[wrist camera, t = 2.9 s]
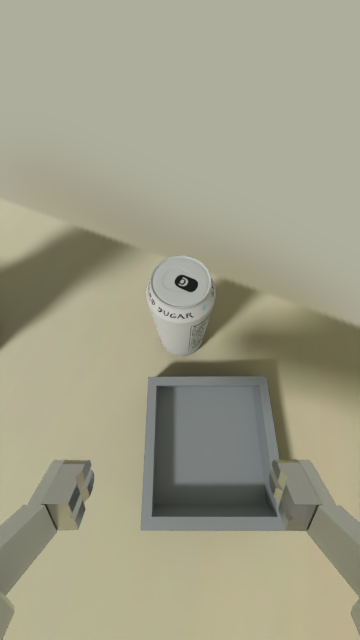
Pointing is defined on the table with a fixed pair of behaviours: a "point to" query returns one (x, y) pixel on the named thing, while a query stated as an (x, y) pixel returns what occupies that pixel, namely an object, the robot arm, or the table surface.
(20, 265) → the table surface
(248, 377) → the gray tray
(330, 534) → the robot arm
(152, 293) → the energy drink can
